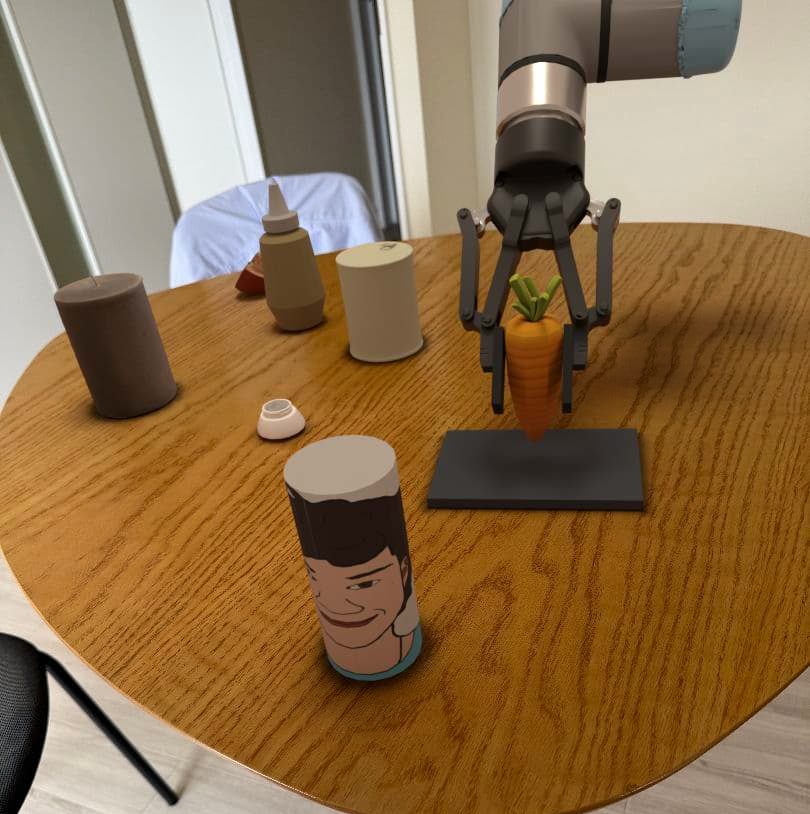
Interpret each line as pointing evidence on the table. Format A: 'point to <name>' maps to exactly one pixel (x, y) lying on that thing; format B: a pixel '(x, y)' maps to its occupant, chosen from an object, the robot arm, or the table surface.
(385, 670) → the printed cylindrical canister
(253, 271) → the fruit slice
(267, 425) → the lidless jar
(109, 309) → the pillar candle
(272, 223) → the squeeze bottle
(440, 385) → the table surface
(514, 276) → the carrot
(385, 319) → the can
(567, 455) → the felt mat
